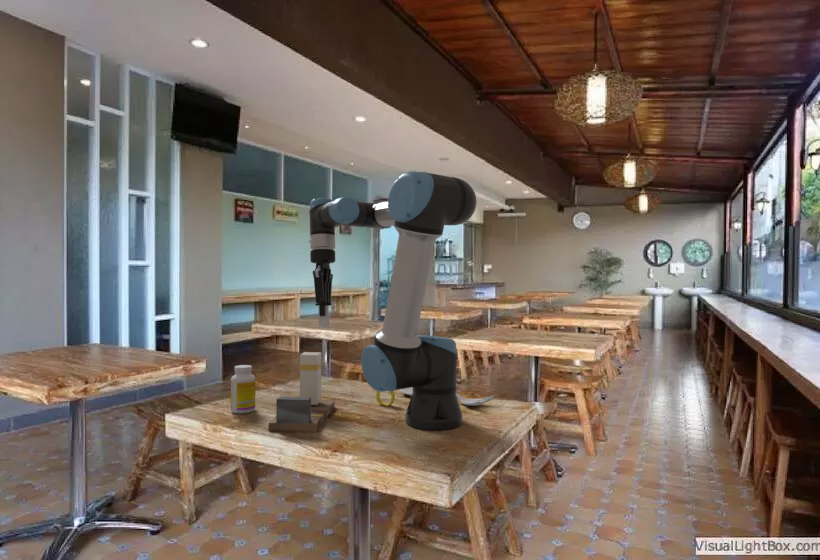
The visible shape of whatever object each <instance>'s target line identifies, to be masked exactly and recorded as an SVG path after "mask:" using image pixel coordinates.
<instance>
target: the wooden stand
mask: <svg viewBox="0 0 820 560" xmlns="http://www.w3.org/2000/svg"><path fill="white" fill-rule="evenodd" d="M275 404H276V406H275V407H276V411H275V412H276V415H275V417H273V418H272V419H271V420H270V421H269V422H268V425H267V426H268V427H267V428H268V432H293V433H294V432H297V433H298V432H299V433H302V432H304V433H317V431H318V430H319V428H321V426H322V425H323V423H324V422H325V421H326V419H327V418H328V417H329V415H330V414H331V413H332V412H333V410H334V408H335V405H336V402H335V400H334V399H329V400H328V399H321V401H320V402H319V403H318V405H311V397H300V396H281V395H279V396H278V398H276V403H275Z"/></svg>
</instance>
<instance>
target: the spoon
mask: <svg viewBox="0 0 820 560" xmlns="http://www.w3.org/2000/svg"><path fill="white" fill-rule="evenodd" d="M399 392H401V393H403V394H405V395H406V396H410V397H411V396H412V393H413V387H411V388H405V389H399ZM456 396H457V399H458V401H460V402H461V403H462V404H463V405H465V406H469V407H476V406H480V405H484V404H486V403H488V402H490V401H491V400H495V397H494V396H493V395H492V396H491V395H490V396H486V397H482V398H465V397H463V396H462V395H459V394H458V393H456Z"/></svg>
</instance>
